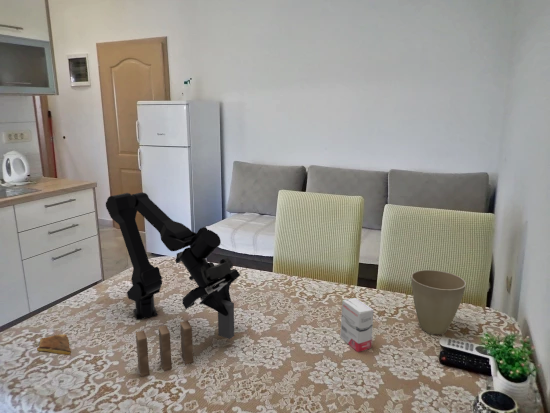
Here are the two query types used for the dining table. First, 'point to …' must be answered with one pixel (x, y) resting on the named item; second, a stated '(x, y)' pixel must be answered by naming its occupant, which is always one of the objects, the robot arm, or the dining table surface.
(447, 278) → the plant pot
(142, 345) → the domino
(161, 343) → the domino
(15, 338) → the dining table surface
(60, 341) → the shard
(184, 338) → the domino
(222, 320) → the dark gray rectangular block
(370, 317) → the ink box
